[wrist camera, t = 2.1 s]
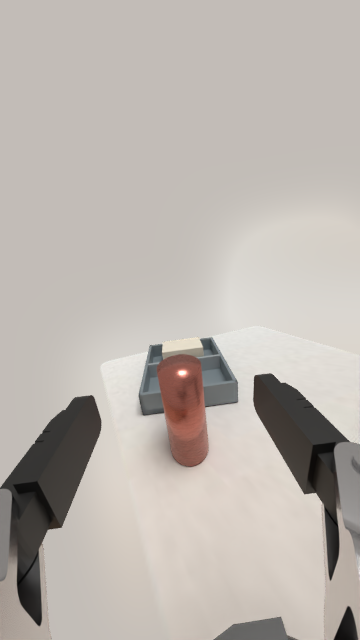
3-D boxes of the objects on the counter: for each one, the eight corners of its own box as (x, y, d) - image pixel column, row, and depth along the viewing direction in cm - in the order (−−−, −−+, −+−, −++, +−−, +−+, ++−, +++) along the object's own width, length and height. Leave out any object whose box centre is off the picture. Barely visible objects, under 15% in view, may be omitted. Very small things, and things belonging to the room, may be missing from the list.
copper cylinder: (204, 426, 29) (197, 352, 25) (212, 462, 24) (205, 376, 20) (171, 431, 29) (157, 357, 25) (171, 469, 24) (154, 383, 20)
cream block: (200, 353, 50) (199, 337, 49) (204, 364, 45) (203, 347, 43) (165, 357, 50) (162, 341, 48) (164, 370, 44) (161, 352, 43)
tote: (212, 351, 53) (212, 337, 51) (237, 401, 34) (237, 381, 32) (152, 359, 52) (149, 345, 51) (143, 414, 33) (138, 395, 32)
